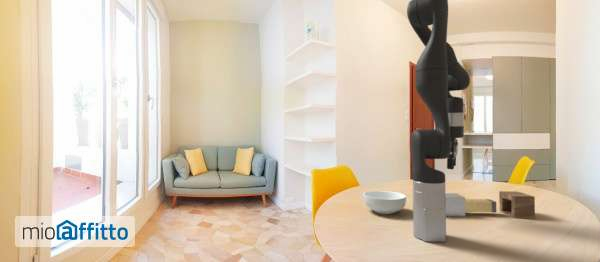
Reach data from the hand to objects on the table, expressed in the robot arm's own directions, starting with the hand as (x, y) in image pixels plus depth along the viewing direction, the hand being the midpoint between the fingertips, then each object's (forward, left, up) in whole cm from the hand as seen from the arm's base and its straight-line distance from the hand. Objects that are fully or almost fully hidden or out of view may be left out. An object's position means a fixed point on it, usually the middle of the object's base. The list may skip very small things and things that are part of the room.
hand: (451, 167), depth 107 cm
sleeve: (+4, +2, -19) cm, 19 cm away
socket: (+4, -25, -19) cm, 32 cm away
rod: (+4, -5, -17) cm, 18 cm away
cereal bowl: (+6, +24, -19) cm, 31 cm away
